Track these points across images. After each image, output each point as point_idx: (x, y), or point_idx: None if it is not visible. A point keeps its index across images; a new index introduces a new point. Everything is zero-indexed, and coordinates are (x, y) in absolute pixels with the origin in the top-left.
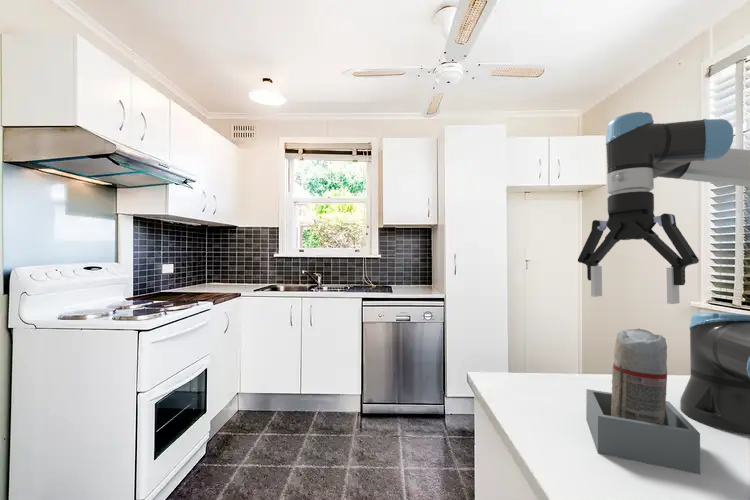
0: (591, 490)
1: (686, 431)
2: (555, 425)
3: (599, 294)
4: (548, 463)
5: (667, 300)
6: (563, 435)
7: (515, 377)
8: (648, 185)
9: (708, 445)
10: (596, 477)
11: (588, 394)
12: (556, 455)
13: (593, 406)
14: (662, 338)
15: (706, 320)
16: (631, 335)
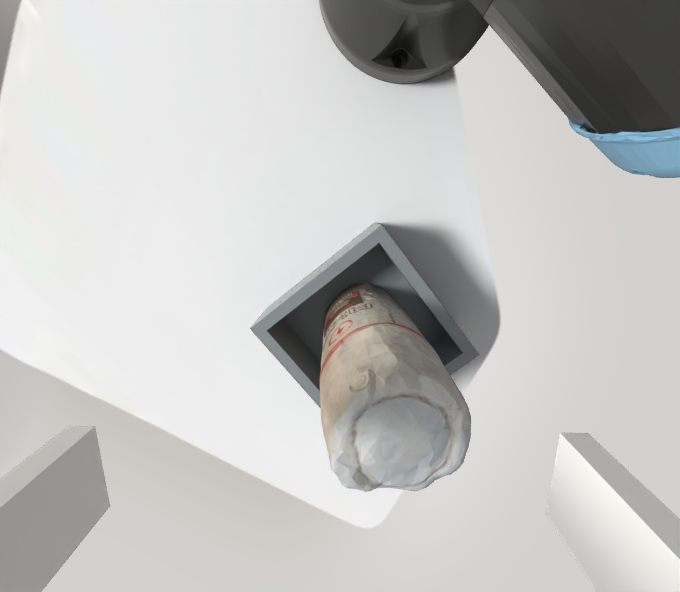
0: (396, 491)
1: (462, 365)
2: (258, 382)
3: (90, 465)
4: (333, 488)
5: (558, 529)
6: (289, 402)
7: (7, 230)
8: None
9: (430, 200)
10: None
11: (272, 352)
12: (325, 462)
13: (318, 404)
14: (466, 430)
15: None
16: (384, 474)
